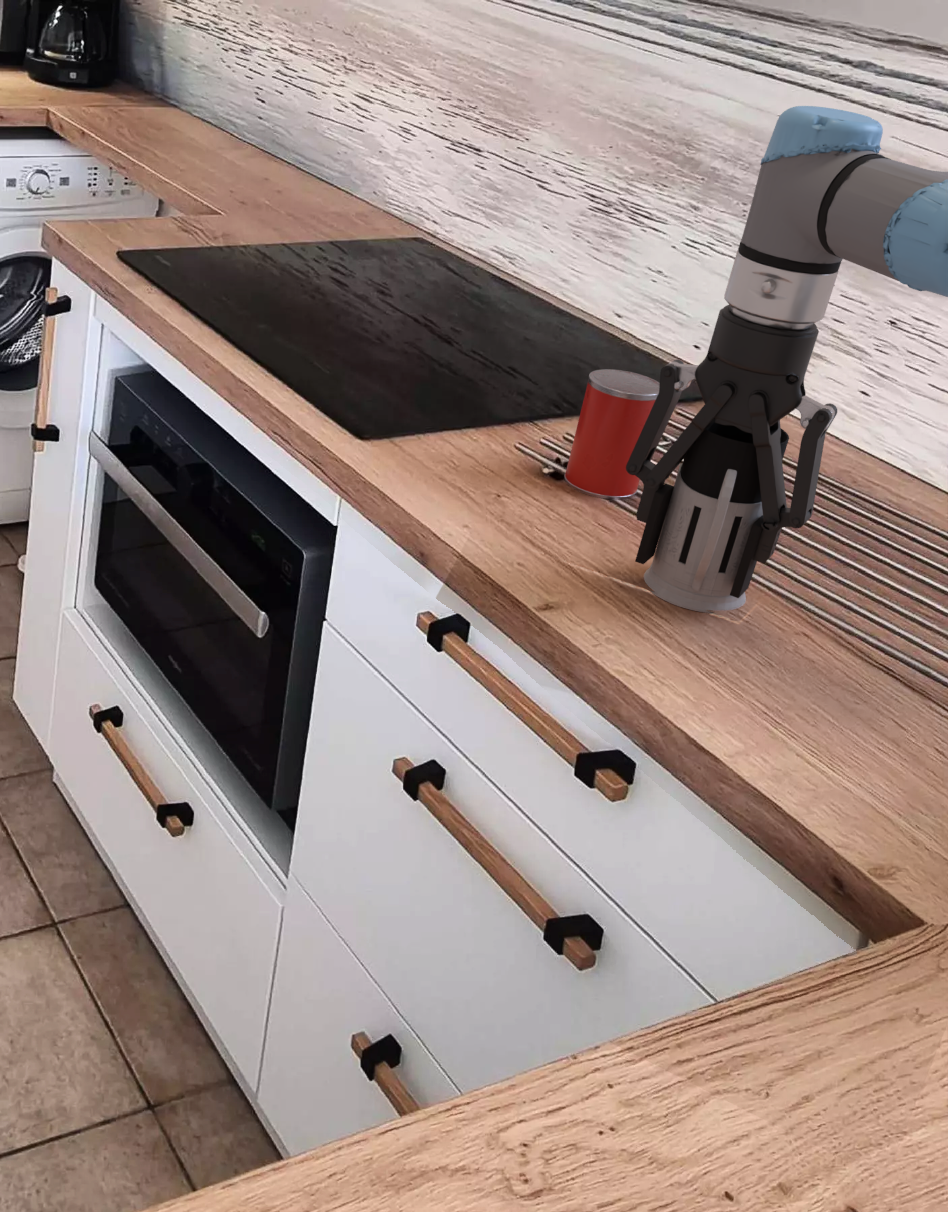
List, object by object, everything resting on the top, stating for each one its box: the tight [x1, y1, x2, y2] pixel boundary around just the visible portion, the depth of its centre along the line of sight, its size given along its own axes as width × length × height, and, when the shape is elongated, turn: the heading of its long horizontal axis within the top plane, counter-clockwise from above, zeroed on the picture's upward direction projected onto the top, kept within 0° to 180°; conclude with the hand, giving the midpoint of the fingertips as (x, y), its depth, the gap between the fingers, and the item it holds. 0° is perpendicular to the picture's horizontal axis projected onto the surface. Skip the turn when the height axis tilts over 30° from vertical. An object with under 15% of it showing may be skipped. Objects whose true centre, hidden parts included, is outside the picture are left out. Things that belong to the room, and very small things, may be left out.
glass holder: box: [643, 422, 790, 614], centre depth 132 cm, size 9×14×15 cm, turn 158°
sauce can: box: [563, 368, 660, 501], centre depth 154 cm, size 7×7×11 cm
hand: (691, 574), depth 134 cm, fingers closed on glass holder, 7 cm apart
